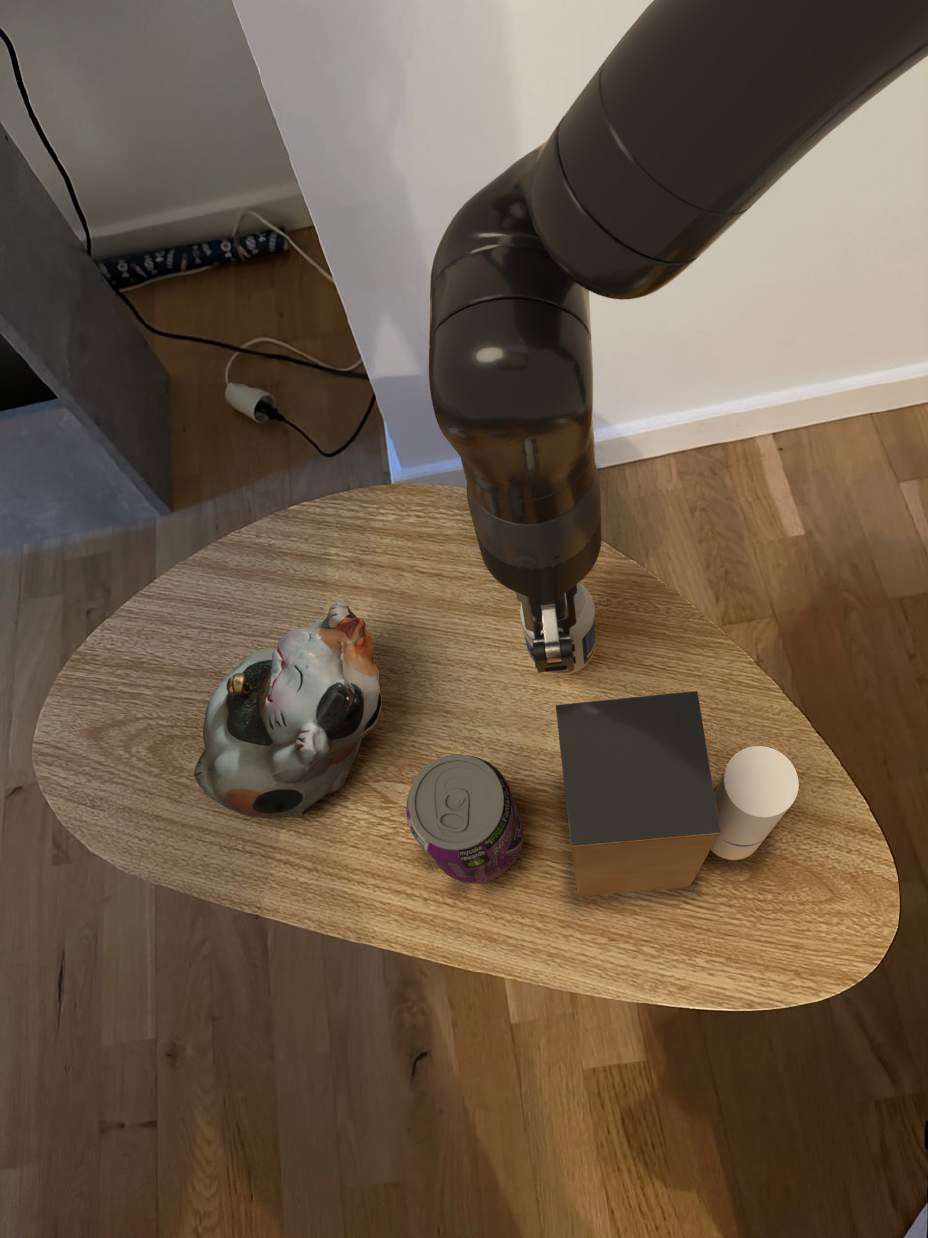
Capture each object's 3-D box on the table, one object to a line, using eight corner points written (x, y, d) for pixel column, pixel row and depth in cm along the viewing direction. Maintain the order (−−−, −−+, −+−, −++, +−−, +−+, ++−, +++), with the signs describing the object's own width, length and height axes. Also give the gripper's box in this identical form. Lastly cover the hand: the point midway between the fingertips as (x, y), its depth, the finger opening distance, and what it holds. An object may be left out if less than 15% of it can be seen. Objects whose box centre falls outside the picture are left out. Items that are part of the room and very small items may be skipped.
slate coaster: (696, 692, 59) (697, 690, 58) (719, 834, 56) (720, 832, 55) (555, 707, 59) (555, 704, 59) (570, 847, 56) (570, 846, 56)
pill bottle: (570, 599, 82) (565, 545, 73) (610, 652, 80) (609, 603, 71) (513, 636, 81) (501, 585, 73) (551, 689, 79) (543, 645, 70)
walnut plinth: (673, 777, 77) (696, 692, 59) (690, 887, 74) (719, 834, 56) (566, 787, 78) (555, 707, 59) (577, 897, 75) (570, 847, 56)
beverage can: (515, 892, 75) (500, 865, 64) (420, 876, 76) (390, 847, 65) (531, 797, 78) (519, 755, 67) (439, 782, 79) (412, 739, 68)
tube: (728, 788, 76) (756, 731, 62) (774, 829, 75) (813, 780, 61) (689, 830, 75) (708, 782, 62) (735, 872, 74) (766, 832, 60)
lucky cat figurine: (233, 643, 85) (265, 543, 75) (370, 691, 87) (421, 600, 77) (170, 803, 76) (196, 715, 66) (325, 853, 78) (375, 775, 68)
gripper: (615, 613, 57) (615, 706, 73) (586, 395, 63) (591, 525, 78) (480, 628, 58) (508, 717, 73) (463, 412, 63) (492, 537, 79)
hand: (551, 618), depth 76 cm, fingers closed on pill bottle, 5 cm apart
